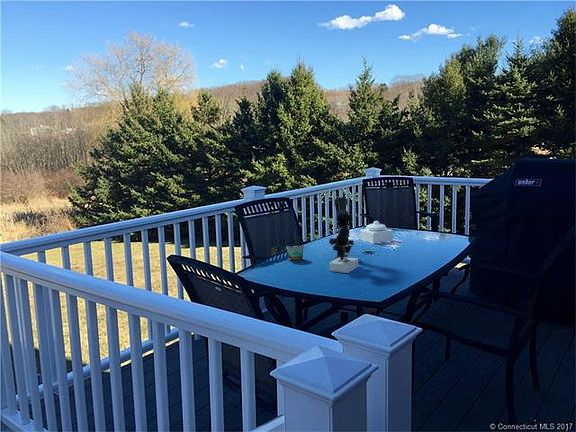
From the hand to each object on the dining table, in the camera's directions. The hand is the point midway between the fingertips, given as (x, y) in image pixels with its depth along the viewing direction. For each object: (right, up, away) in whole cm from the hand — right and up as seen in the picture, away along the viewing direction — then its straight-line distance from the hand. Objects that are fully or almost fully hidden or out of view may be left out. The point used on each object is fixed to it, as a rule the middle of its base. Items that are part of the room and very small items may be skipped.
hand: (343, 259), depth 284 cm
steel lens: (0, -3, 0) cm, 3 cm away
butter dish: (+34, +7, +76) cm, 83 cm away
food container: (-28, -4, +24) cm, 37 cm away
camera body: (0, -6, +1) cm, 6 cm away
